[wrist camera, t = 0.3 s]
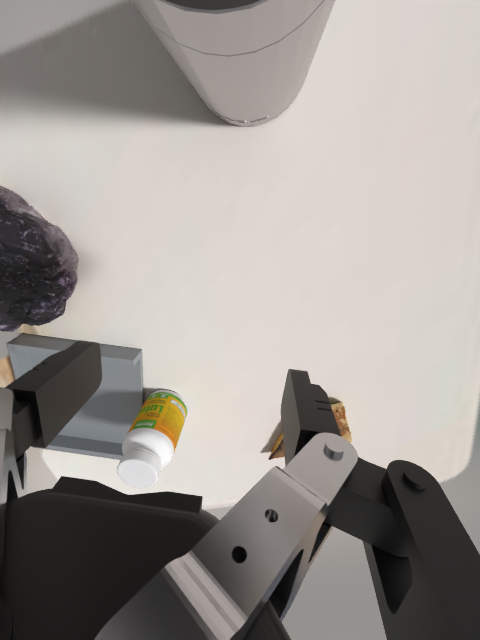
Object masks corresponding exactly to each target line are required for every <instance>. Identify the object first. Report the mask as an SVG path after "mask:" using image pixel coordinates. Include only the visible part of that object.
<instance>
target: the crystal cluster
mask: <svg viewBox="0 0 480 640" xmlns="http://www.w3.org/2000/svg"><path fill="white" fill-rule="evenodd" d="M78 260H79V259H78V255H77V253H76V252H75V250H74V249H73V247H72V245H71V243H70V241H69V239H68V238H67V237H66V235H65V234H64V233H63V231H62V230H61V229H60V228H59V227H57V226H54V225H52V224H51V223H49V222H48V221H46V220H45V219H44V218H43V217H42V216H41V215H40V214H39V213H38V212H37V211H36V210H34V208H33V207H32V206H29V205H28V203H27V202H26V201H25V200H24V199H23V198H22V197H21V196H19V195H18V194H16V193H14V192H13V191H11V190H9V189H6V188H4V187H2V186H0V330H1V331H15V330H16V329H18V328H19V327H20V326H21V325H22V324H29V325H31V326H32V325H37V326H39V325H43V324H46V323H49V322H51V321H52V320H54V319H56V318H58V317H59V316H61V315H63V313H64V311H65V306H66V300H67V299H68V298H69V297H71V295H72V293H73V291H74V289H75V285H76V283H77V275H76V272H75V270H76V268H77V265H78Z"/></svg>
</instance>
